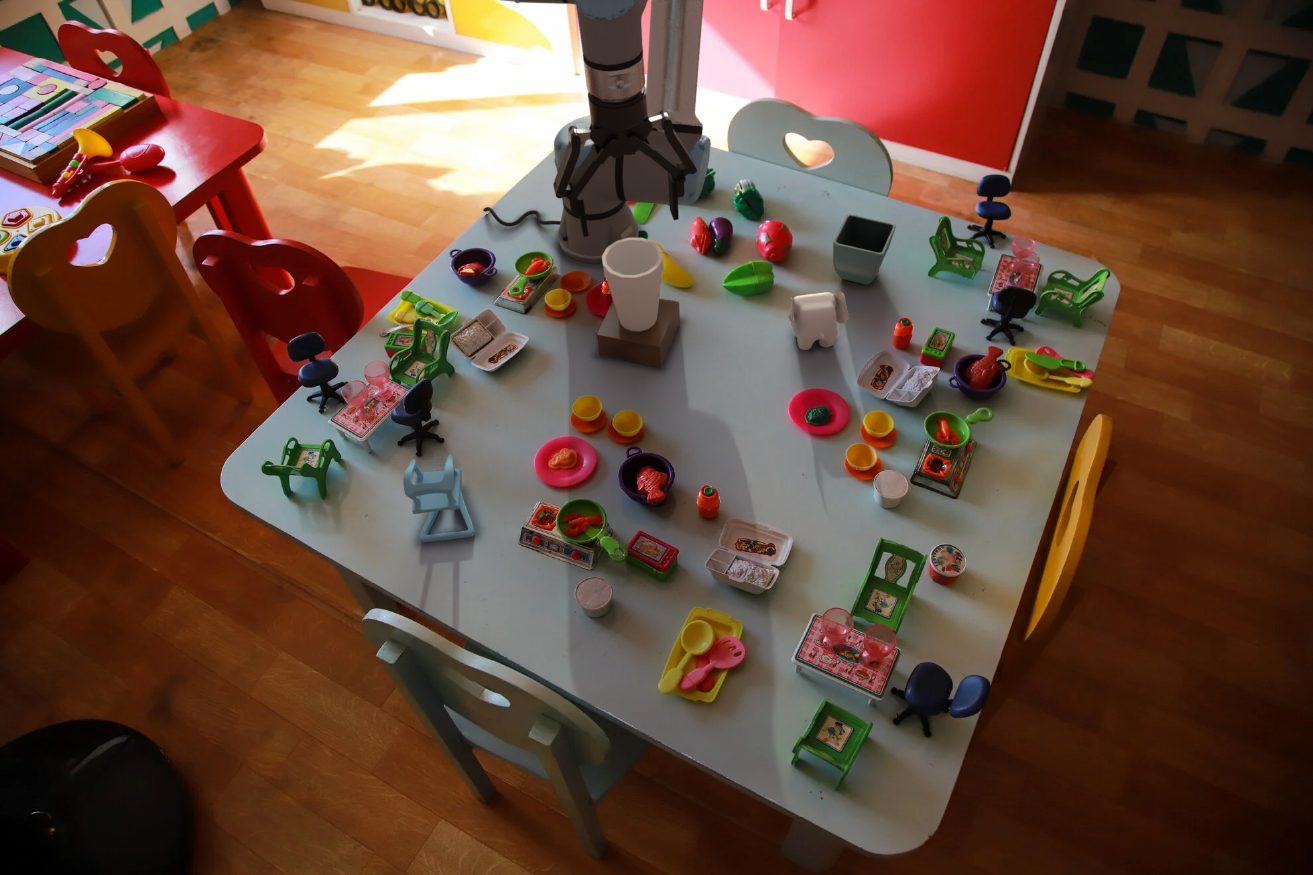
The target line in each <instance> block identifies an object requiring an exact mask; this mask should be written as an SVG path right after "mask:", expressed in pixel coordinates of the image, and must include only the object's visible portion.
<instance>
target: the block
mask: <svg viewBox="0 0 1313 875" xmlns="http://www.w3.org/2000/svg"><path fill="white" fill-rule="evenodd" d="M680 318H681V316H680V301H678V300H674V299H673V300H672V299H667V298H662V297H659V306H658V315H657V320H656V322H655V324H654V325H653V326H652V327H650V328H649V329H646V330H643V331H631V330H628V329H626V328H624V327H623V326H622V325H621V324H620V321H619V318H618V315H617V311H616V308H615V305H614V302H613V301H612V302H611V304H610V306H609V308H608V309H607V312H606V314H605V316H604V318H603V320H602V322H601V324H600V326H599V328H598V331H597V332H596V334H595V335H596V341H597V348H598V349H597V350H598V355H599V356H601V357H606V358H611V359H615V360H621V361H624V362H625V361H626V362H630V363H636V364H641V365H645V366H652V367H656V368H662V366H663V364H664V362H665V359H666V357H667V354H668V352H669V350H670V347H671V345H672V342H673V341H674V338H675V335H676V333H677V331H678V328H679V325H680V323H681V320H680Z"/></svg>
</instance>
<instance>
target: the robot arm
mask: <svg viewBox="0 0 1313 875" xmlns="http://www.w3.org/2000/svg"><path fill="white" fill-rule="evenodd" d="M501 1H502V2H513V3H515V4H519V3H521V4H522V3H523V4H525V3H527V4H558V5H561V4H562V5H575V8H576V16H577V22H578V29H579V36H580V43H581V44H580V45H581V52H582V59H583V60H582V61H583V69H584V75H585V76H584V78H585V85H586V89H587V91H588V92H587V102H588V108H589V115H585V116H581V117H578V118H576V119H573V120H572V121H570V122H568V123H566V124H565V125H564V126H563V127H562V128H560V130H558V132H557V134H556V135H555V137H554V140H553V152H554V165H555V167H556V176H555V177H554V181H553V184H552V186H553V190H554V195H555V197H556V198H557V199H561V200H562V201H561V202H562V206H563V208H562V213H561V217H560V220H543V219H542V217H541V213H540V211H538V210H535V209H534V210H533V209H531V210H528V211H526V212H524V213H523V214H522V215H521V216H519V218H517V219H516V220H514V221H511V222H507V221H504V220H503V219H501V218H500V217H499V216H498V215H497V213H496V212H495V210H494V208H492V207H490V206H486V207H484V208H483V210H482V211H483V212H484V213H485V212H486V213H487V212H489V213H490V214H491V216H492V217H493V218H494V220H495V221H496V222H497V223H499V224H500V225H501V226H503V227H509V228H510V227H514V226H517V225H519V224H520V223H521V222H523V221H524V220H525V219H526V218H527V217H529V216H530V215H535V216H536V220H537V222H538V223H539V224H540V225H542V226H550V225H556V226H559V228H558V241H559V245H560V248H561V250H562V251H563V253H564V254H565V255H566V256H567V257H569V258H571V259H572V260H575V261H577V262H580V263H584V264H593V265H599V264H603V261H602V255H603V254H604V252H605V250H606V248H607V247H609V246H610V245H611V244H613V243H614V242H616V241H618V240H622V239H626V238H640V232H639V223H638V221H637V218H636V217H635V215H634V213H633V210H632V208H631V207H630V205H629V203H628V202H631V203H641V204H654V205H665V206H666V205H667V206H669V212H670V214H671V216H672V220H673V221H678V220H680V217H679V206H691V205H693V204H694V203H696V202H697V201H698V199H699V197H700V196H701V194H702V191H703V187H704V184H705V180H706V177H707V172H708V167H709V161H710V156H711V147H712V146H711V144H712V143H711V139H710V137H709V136H707V134H706V135H704V134H703V130H704V125H703V123H702V122H701V121H700V119H699V118H698V117H697V114H696V106H697V93H698V79H699V67H700V66H699V64H700V54H701V53H700V52H701V42H702V40H701V39H702V29H703V28H702V26H703V12H704V3H705V2H704V1H705V0H650V14H649V15H650V17H649V32H648V35H649V36H648V50H647V68H646V73H645V62H644V46H643V28H642V27H643V26H642V16H643V14H644V12H645V9H646V8H647V4H648V2H649V0H501ZM645 85H646V86H645Z"/></svg>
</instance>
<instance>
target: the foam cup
mask: <svg viewBox="0 0 1313 875" xmlns="http://www.w3.org/2000/svg"><path fill="white" fill-rule="evenodd" d="M602 261H603V263H602V269H603V275H604V278H605V279H606V282H607V286H608V288H609V292H610V295H611V297H612V302H614V305H615V308H616V311H617V315H618V318H619V321H620V324H621V325H622V326H623V327H624V328H626V329H628V330H631V331H643V330H646V329H649V328H650V327H652V326H653V325H654V324H655V322H656V320H657V315H658V306H659V298H660V295H661V288H662V287H661V285H662V276H663V272H664V256H663V251H662V248H661V247H660V246H659V245H658V244H657V243H656V242H655V241H653V240H649V239H647V238H644V237H639V238H626V239H622V240H618V241H616V242H614V243H613V244H611V245H610V246H609V247H607V248H606V250H605V252H604V254H603V255H602Z"/></svg>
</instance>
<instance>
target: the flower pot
mask: <svg viewBox="0 0 1313 875" xmlns="http://www.w3.org/2000/svg"><path fill="white" fill-rule="evenodd" d="M844 217H845V218H844V220H843V221H842V223H841V226H840V228H839V230H838V232H837V234H836V235H835V237H834V239H833V241H832V261H833V262H832V263H833V268H834V270H835V273H836V274H837V275H838V276H839V278H840V279H842V280H846V281H850V282H854V283H858V284H862V285H865V286H866V285H869V284H871V283H872V282H873V281H874V280H875V279H876V277H877V275H878V273H879V271H880V268H881V266H882V264H883V261H884V259H885V257H886V255H887V253H888V250H889V248H890V246H891V243H892V240H893V236H894V234H895V231H896V228H897V225H896V224H895V223H891V222H886V221H882V220H877V219H873V218H869V217H868V218H867V217H864V216H860V215H855V214H849V213H848V214H846V215H845V216H844Z"/></svg>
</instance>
